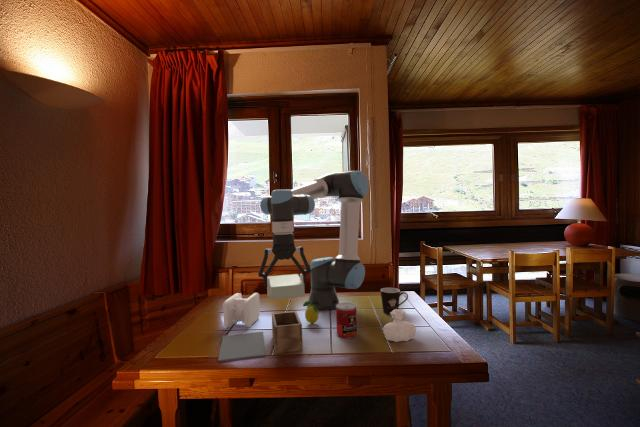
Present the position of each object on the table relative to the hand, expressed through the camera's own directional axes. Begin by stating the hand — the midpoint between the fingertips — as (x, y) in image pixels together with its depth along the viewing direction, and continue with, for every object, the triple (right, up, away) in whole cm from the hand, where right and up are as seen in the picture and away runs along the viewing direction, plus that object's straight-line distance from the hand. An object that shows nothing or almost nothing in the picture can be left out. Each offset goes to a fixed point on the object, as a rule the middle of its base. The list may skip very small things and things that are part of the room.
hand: (285, 294), depth 118 cm
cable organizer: (-20, -18, +22) cm, 35 cm away
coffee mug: (+45, -16, +29) cm, 56 cm away
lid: (0, +1, 0) cm, 1 cm away
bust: (+41, -17, +2) cm, 44 cm away
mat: (-15, -18, -1) cm, 24 cm away
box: (0, -18, 0) cm, 18 cm away
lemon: (+9, -17, +19) cm, 27 cm away
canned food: (+22, -17, +7) cm, 29 cm away
